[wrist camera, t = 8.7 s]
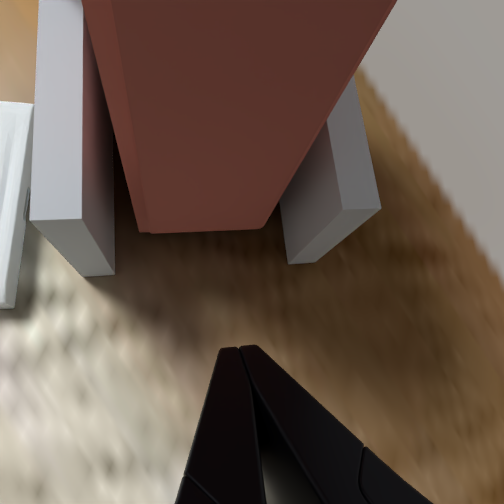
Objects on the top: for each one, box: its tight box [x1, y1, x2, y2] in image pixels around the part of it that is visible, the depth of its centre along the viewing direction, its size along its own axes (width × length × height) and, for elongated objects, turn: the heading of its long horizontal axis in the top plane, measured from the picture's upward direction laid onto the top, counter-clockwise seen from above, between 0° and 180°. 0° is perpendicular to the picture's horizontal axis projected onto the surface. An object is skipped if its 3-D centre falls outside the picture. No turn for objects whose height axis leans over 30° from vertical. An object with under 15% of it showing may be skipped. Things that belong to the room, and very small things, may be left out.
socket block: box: [29, 0, 381, 277], centre depth 13 cm, size 9×9×10 cm
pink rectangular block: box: [81, 0, 397, 234], centre depth 11 cm, size 7×5×13 cm
